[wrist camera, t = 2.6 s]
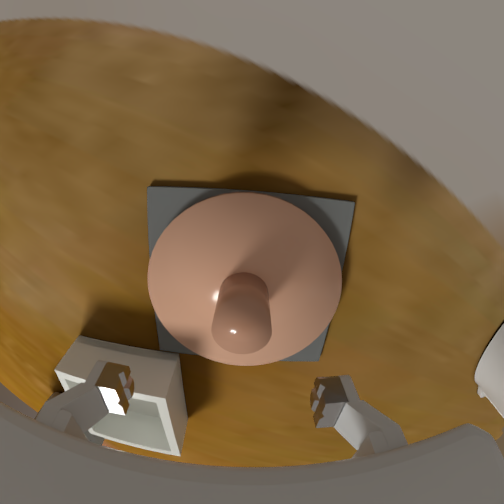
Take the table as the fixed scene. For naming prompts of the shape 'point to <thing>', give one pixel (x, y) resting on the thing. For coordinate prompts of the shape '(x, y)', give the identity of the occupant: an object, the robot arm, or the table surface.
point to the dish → (135, 393)
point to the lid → (244, 278)
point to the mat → (180, 198)
